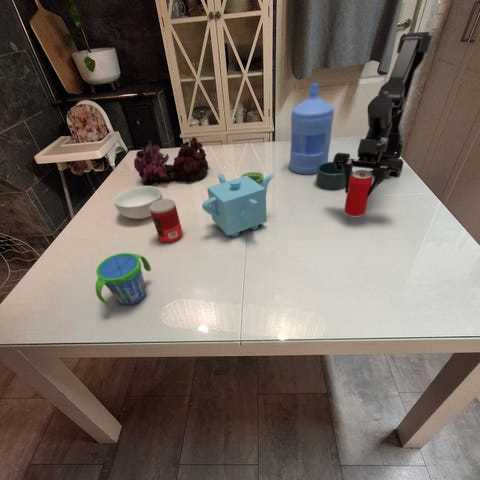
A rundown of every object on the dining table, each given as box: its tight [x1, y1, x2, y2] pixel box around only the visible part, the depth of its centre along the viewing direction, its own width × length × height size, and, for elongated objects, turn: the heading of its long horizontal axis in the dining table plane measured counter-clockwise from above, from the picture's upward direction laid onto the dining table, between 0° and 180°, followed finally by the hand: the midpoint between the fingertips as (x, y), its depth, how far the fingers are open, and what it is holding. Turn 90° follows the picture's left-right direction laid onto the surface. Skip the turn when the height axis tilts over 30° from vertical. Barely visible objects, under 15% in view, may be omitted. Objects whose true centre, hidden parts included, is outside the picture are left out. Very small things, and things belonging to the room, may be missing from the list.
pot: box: [315, 161, 346, 191], centre depth 112 cm, size 12×12×6 cm
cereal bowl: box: [113, 185, 163, 220], centre depth 108 cm, size 17×17×7 cm
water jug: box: [289, 82, 335, 175], centre depth 115 cm, size 16×16×28 cm
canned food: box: [149, 198, 183, 244], centre depth 94 cm, size 8×8×11 cm
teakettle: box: [201, 173, 275, 238], centre depth 93 cm, size 19×19×15 cm
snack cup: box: [95, 252, 152, 306], centre depth 76 cm, size 16×10×10 cm
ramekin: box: [240, 171, 265, 185], centre depth 115 cm, size 9×9×4 cm
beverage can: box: [343, 169, 373, 218], centre depth 89 cm, size 6×6×12 cm
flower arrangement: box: [133, 136, 209, 186], centre depth 125 cm, size 31×20×15 cm, turn 101°
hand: (356, 194), depth 87 cm, fingers closed on beverage can, 6 cm apart
